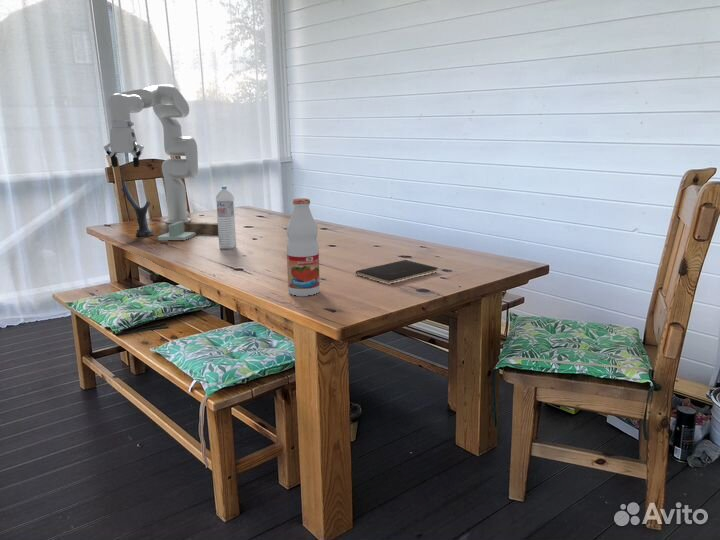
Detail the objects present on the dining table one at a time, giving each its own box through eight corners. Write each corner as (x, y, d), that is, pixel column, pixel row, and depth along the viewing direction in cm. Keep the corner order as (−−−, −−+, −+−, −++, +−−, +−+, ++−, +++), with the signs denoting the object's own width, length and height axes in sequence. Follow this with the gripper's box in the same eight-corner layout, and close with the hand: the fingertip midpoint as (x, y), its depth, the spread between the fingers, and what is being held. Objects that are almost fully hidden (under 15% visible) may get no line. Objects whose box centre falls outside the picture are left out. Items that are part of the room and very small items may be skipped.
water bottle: (215, 248, 235) (211, 186, 228) (230, 245, 239) (226, 184, 233) (225, 250, 230) (221, 187, 224) (239, 248, 235) (236, 186, 229)
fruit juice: (313, 286, 180) (311, 196, 173) (324, 294, 172) (322, 200, 165) (284, 290, 176) (280, 198, 169) (293, 298, 168) (290, 202, 161)
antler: (151, 233, 266) (146, 178, 260) (156, 236, 260) (151, 180, 254) (125, 236, 260) (119, 180, 254) (129, 239, 254) (123, 181, 247)
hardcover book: (437, 274, 196) (438, 267, 195) (388, 287, 181) (388, 280, 181) (404, 265, 208) (404, 259, 207) (355, 277, 193) (355, 270, 192)
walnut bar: (185, 234, 265) (185, 223, 263) (189, 232, 269) (188, 222, 267) (219, 235, 263) (218, 224, 261) (222, 233, 266) (222, 223, 265)
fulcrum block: (170, 234, 263) (169, 220, 261) (195, 235, 261) (194, 221, 259) (157, 240, 251) (156, 225, 249) (184, 240, 249) (183, 225, 248)
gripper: (145, 125, 244) (149, 166, 248) (107, 125, 246) (111, 166, 251) (136, 125, 237) (140, 167, 241) (96, 125, 239) (101, 167, 243)
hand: (125, 166), depth 246 cm, fingers open, 9 cm apart
